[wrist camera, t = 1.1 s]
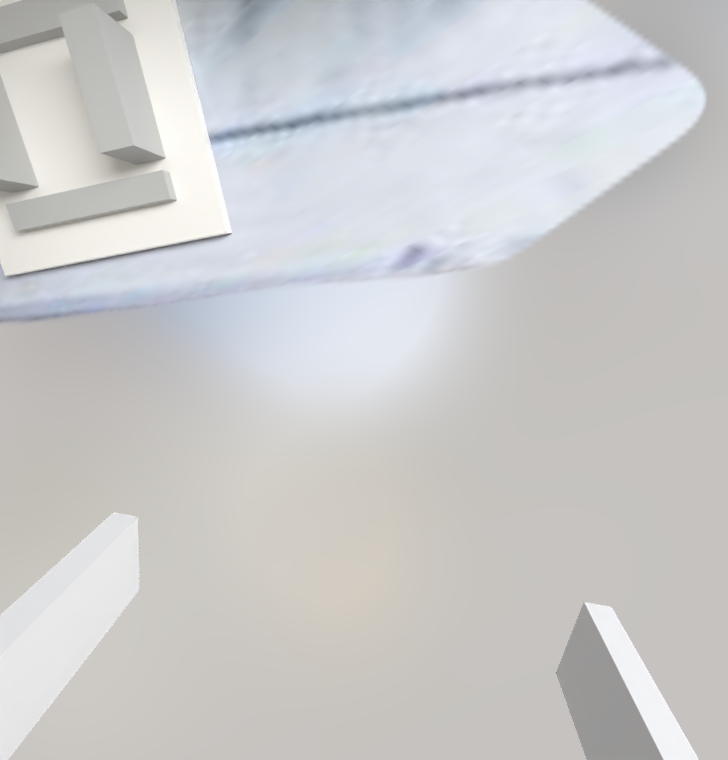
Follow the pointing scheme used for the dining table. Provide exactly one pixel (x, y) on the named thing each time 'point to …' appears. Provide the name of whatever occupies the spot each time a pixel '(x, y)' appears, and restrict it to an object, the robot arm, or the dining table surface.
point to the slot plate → (91, 167)
